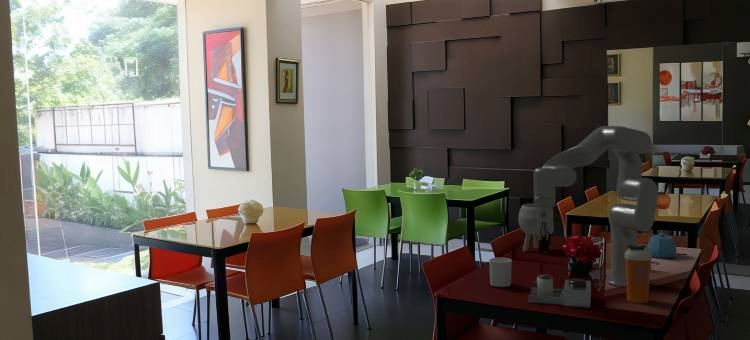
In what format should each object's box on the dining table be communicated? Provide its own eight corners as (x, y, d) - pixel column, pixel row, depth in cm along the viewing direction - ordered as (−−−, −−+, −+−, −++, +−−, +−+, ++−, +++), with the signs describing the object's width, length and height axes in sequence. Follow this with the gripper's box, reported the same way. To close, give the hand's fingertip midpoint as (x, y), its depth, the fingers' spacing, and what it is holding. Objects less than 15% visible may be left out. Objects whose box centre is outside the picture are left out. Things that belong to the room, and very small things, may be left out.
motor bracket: (590, 294, 245) (591, 274, 244) (590, 307, 229) (590, 286, 228) (532, 291, 252) (532, 271, 251) (528, 303, 236) (528, 282, 235)
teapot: (645, 236, 297) (648, 229, 313) (645, 259, 298) (647, 251, 314) (676, 238, 291) (677, 231, 307) (675, 262, 292) (676, 253, 308)
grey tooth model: (556, 253, 314) (555, 207, 312) (522, 254, 315) (522, 208, 313) (547, 246, 330) (547, 202, 328) (515, 247, 331) (515, 203, 329)
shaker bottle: (619, 297, 240) (620, 243, 238) (643, 296, 241) (643, 242, 239) (631, 304, 231) (632, 249, 230) (655, 303, 232) (656, 247, 230)
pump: (553, 297, 243) (553, 274, 242) (552, 301, 237) (552, 278, 237) (533, 296, 245) (533, 273, 244) (532, 300, 240) (532, 276, 239)
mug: (507, 289, 255) (507, 263, 254) (485, 286, 260) (485, 261, 259) (516, 282, 264) (516, 257, 263) (496, 280, 269) (495, 255, 268)
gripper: (553, 205, 228) (554, 253, 230) (556, 198, 245) (557, 243, 246) (531, 205, 231) (532, 253, 232) (536, 198, 247) (536, 242, 249)
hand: (545, 248), depth 239 cm, fingers open, 9 cm apart
